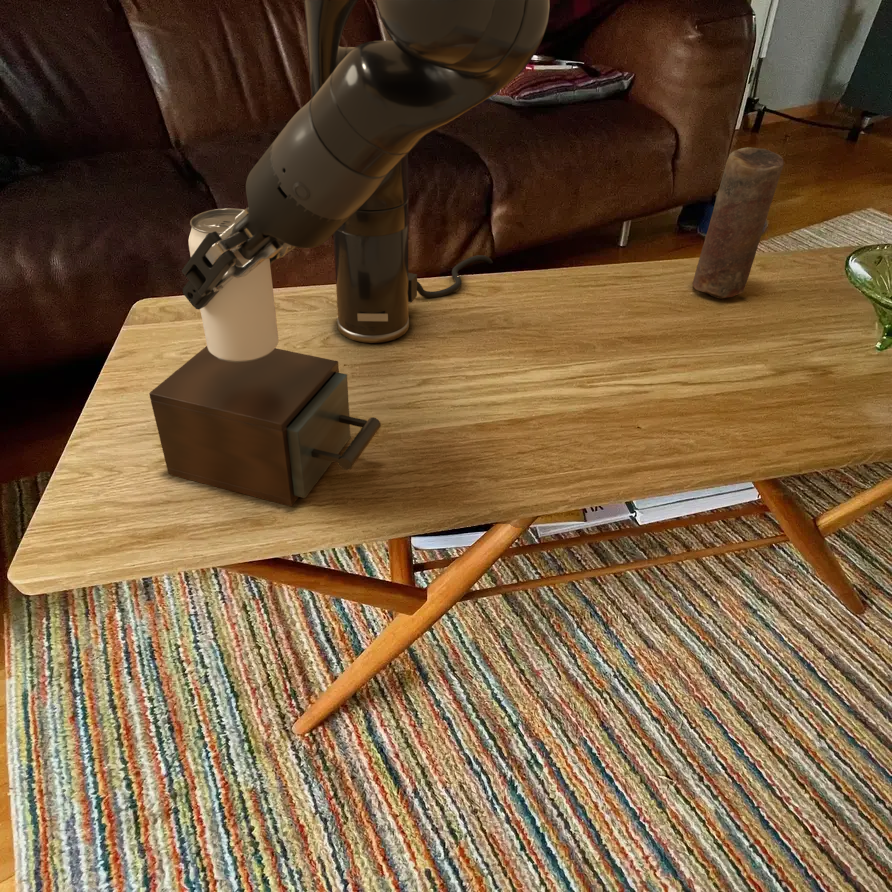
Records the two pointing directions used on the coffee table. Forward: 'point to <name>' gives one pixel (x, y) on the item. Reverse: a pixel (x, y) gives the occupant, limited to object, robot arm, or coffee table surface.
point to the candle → (737, 221)
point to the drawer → (325, 435)
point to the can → (237, 301)
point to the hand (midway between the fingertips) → (221, 284)
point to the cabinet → (237, 419)
